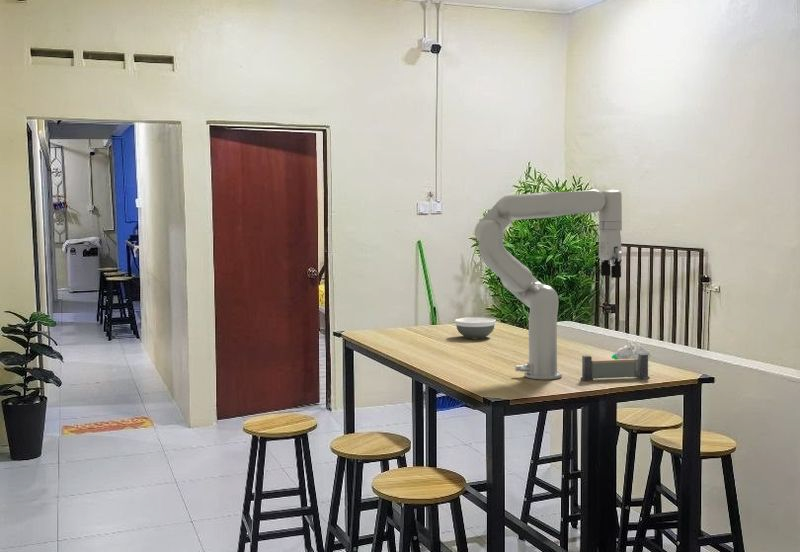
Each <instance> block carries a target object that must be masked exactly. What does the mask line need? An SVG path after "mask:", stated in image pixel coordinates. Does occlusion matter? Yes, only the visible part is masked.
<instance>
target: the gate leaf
mask: <svg viewBox="0 0 800 552" xmlns="http://www.w3.org/2000/svg"><path fill="white" fill-rule="evenodd" d="M638 377H639V359H617V360H614V359H595V360H593V359H592V378H593V380H595V379H618V378H619V379H621V378H638Z"/></svg>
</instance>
